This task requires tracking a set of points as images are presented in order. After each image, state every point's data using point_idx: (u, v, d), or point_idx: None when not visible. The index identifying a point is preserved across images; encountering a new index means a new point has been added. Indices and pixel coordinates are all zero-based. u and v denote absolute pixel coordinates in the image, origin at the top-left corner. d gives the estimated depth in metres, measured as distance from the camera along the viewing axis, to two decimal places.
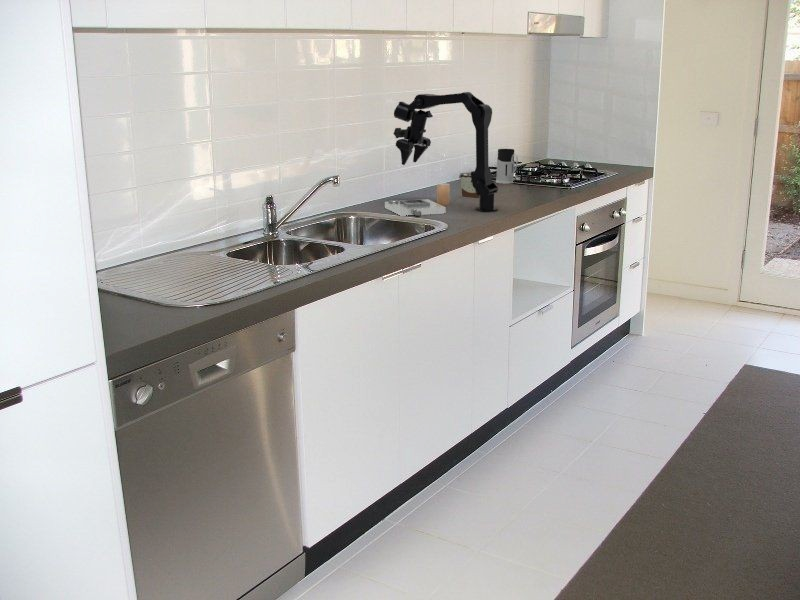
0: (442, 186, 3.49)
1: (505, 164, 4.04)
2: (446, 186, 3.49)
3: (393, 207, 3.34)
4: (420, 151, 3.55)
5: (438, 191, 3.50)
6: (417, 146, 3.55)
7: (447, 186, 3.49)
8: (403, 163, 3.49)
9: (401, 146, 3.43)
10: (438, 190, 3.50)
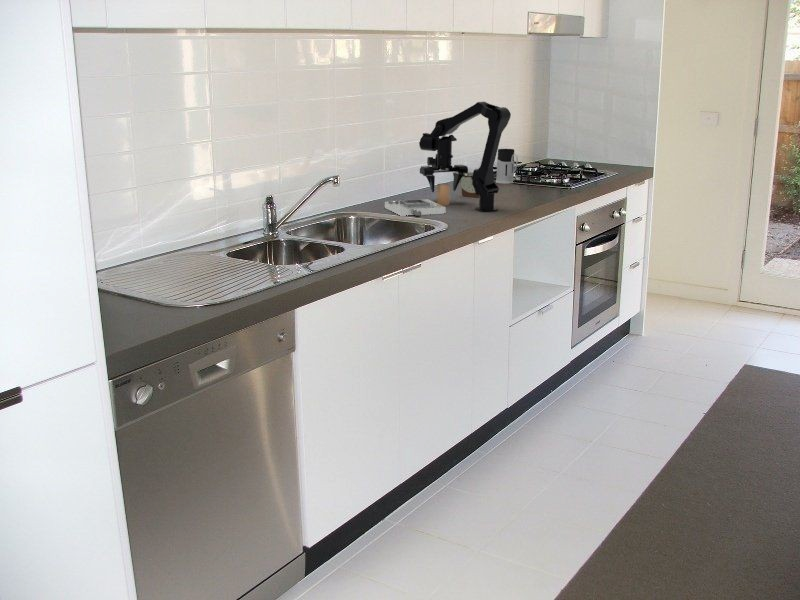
0: (442, 186, 3.49)
1: (505, 164, 4.04)
2: (446, 186, 3.49)
3: (393, 207, 3.34)
4: (456, 179, 3.51)
5: (438, 191, 3.50)
6: (455, 174, 3.52)
7: (447, 186, 3.49)
8: (432, 190, 3.50)
9: (422, 172, 3.46)
10: (438, 190, 3.50)
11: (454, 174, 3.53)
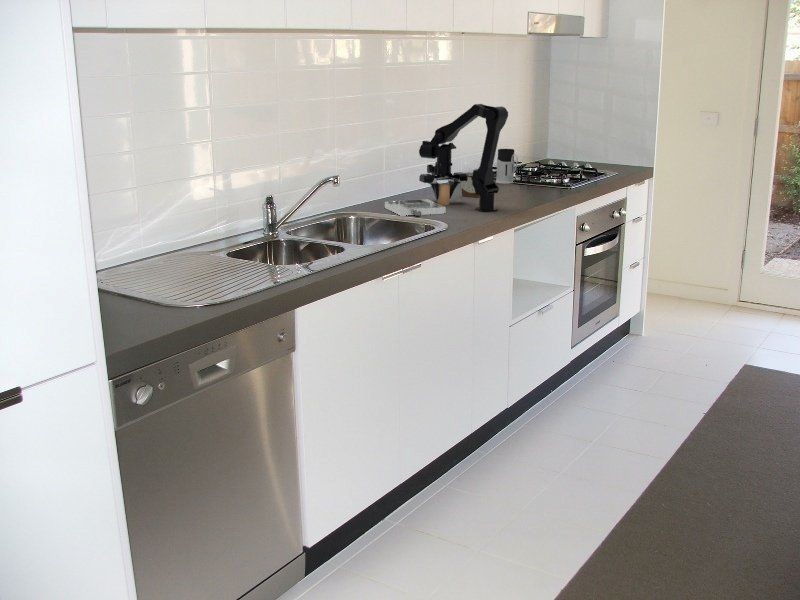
0: (442, 186, 3.49)
1: (505, 164, 4.04)
2: (446, 186, 3.49)
3: (393, 207, 3.34)
4: (451, 186, 3.51)
5: None
6: (450, 182, 3.52)
7: (447, 186, 3.49)
8: (436, 198, 3.51)
9: (421, 180, 3.47)
10: None
11: (449, 182, 3.53)
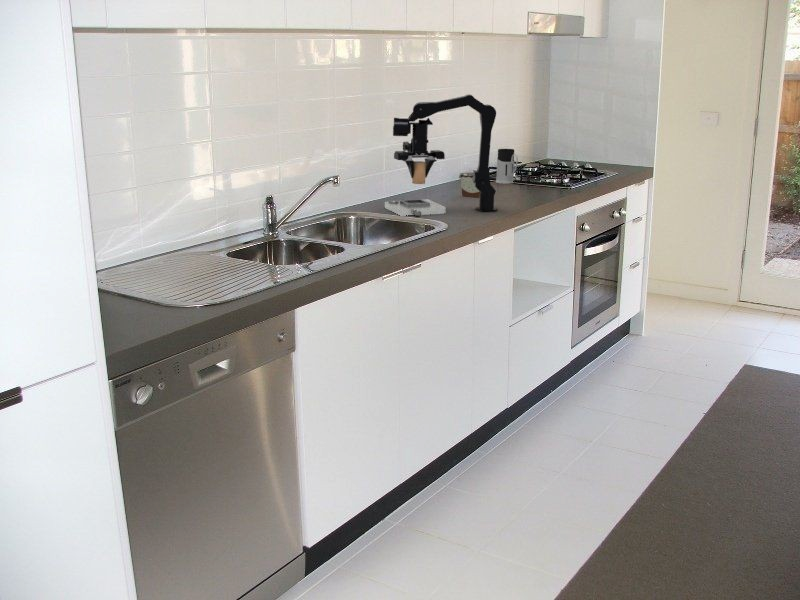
0: (417, 164, 3.34)
1: (505, 164, 4.04)
2: (422, 164, 3.34)
3: (393, 207, 3.34)
4: (427, 165, 3.36)
5: None
6: (426, 160, 3.37)
7: (423, 164, 3.34)
8: (411, 176, 3.36)
9: (396, 157, 3.33)
10: None
11: (425, 160, 3.38)
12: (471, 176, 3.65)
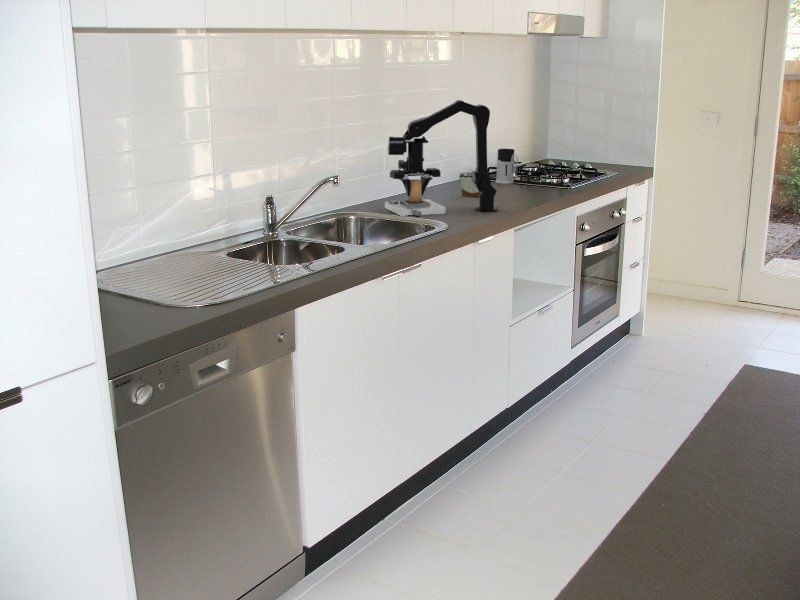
0: (413, 182, 3.33)
1: (505, 164, 4.04)
2: (418, 182, 3.34)
3: (393, 207, 3.34)
4: (423, 183, 3.35)
5: None
6: (422, 178, 3.37)
7: (419, 182, 3.34)
8: (407, 194, 3.36)
9: (392, 176, 3.32)
10: None
11: (421, 178, 3.37)
12: (471, 176, 3.65)
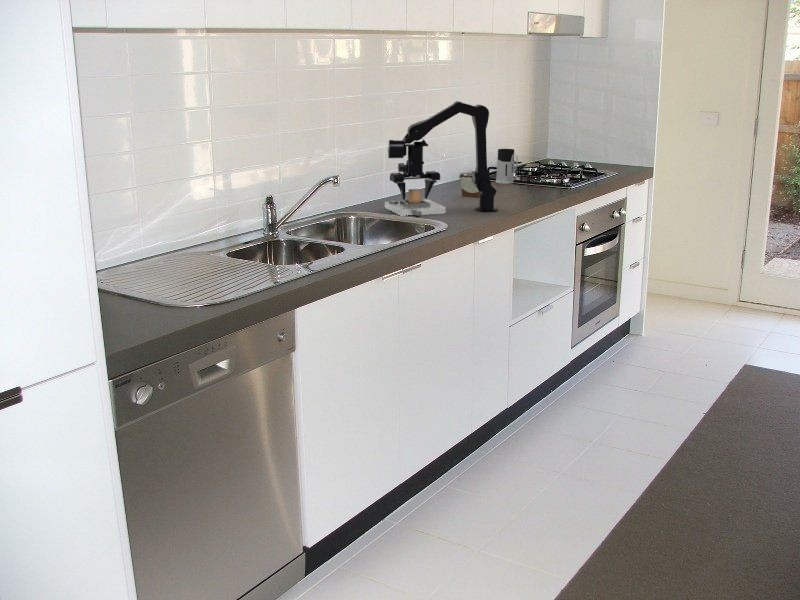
0: (413, 192, 3.34)
1: (505, 164, 4.04)
2: (417, 192, 3.35)
3: (393, 207, 3.34)
4: (427, 186, 3.36)
5: (409, 197, 3.36)
6: (426, 181, 3.38)
7: (418, 192, 3.35)
8: (403, 198, 3.36)
9: (391, 179, 3.32)
10: (409, 196, 3.36)
11: (426, 181, 3.38)
12: (471, 176, 3.65)
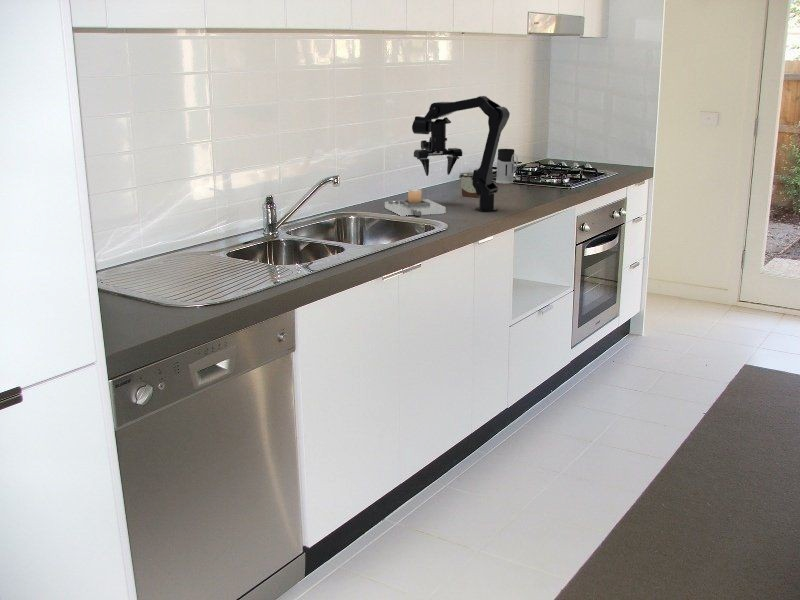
0: (413, 192, 3.34)
1: (505, 164, 4.04)
2: (417, 192, 3.35)
3: (393, 207, 3.34)
4: (450, 162, 3.47)
5: (409, 197, 3.36)
6: (449, 158, 3.48)
7: (419, 192, 3.35)
8: (426, 174, 3.46)
9: (416, 155, 3.42)
10: (409, 196, 3.36)
11: (448, 157, 3.49)
12: (471, 176, 3.65)
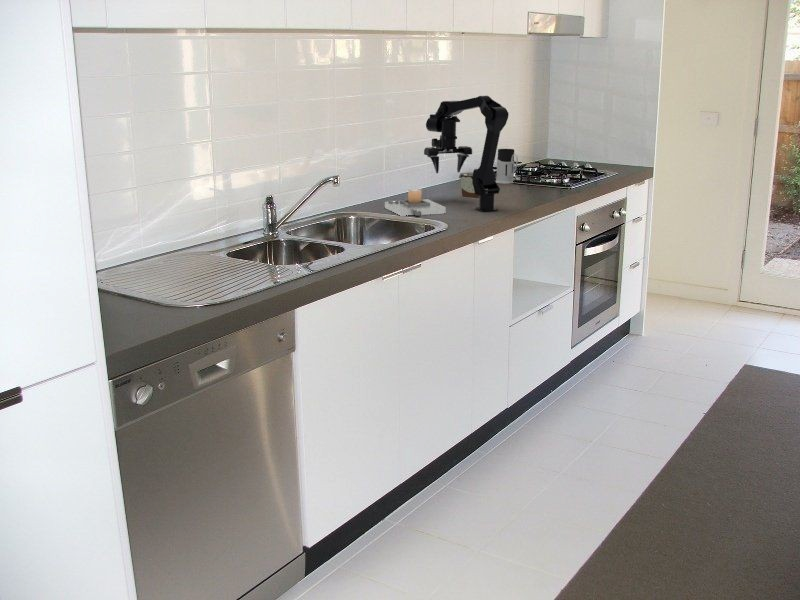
0: (413, 192, 3.34)
1: (505, 164, 4.04)
2: (417, 192, 3.35)
3: (393, 207, 3.34)
4: (460, 160, 3.52)
5: (409, 197, 3.36)
6: (459, 156, 3.54)
7: (419, 192, 3.35)
8: (436, 171, 3.51)
9: (426, 153, 3.48)
10: (409, 196, 3.36)
11: (458, 155, 3.54)
12: (471, 176, 3.65)
